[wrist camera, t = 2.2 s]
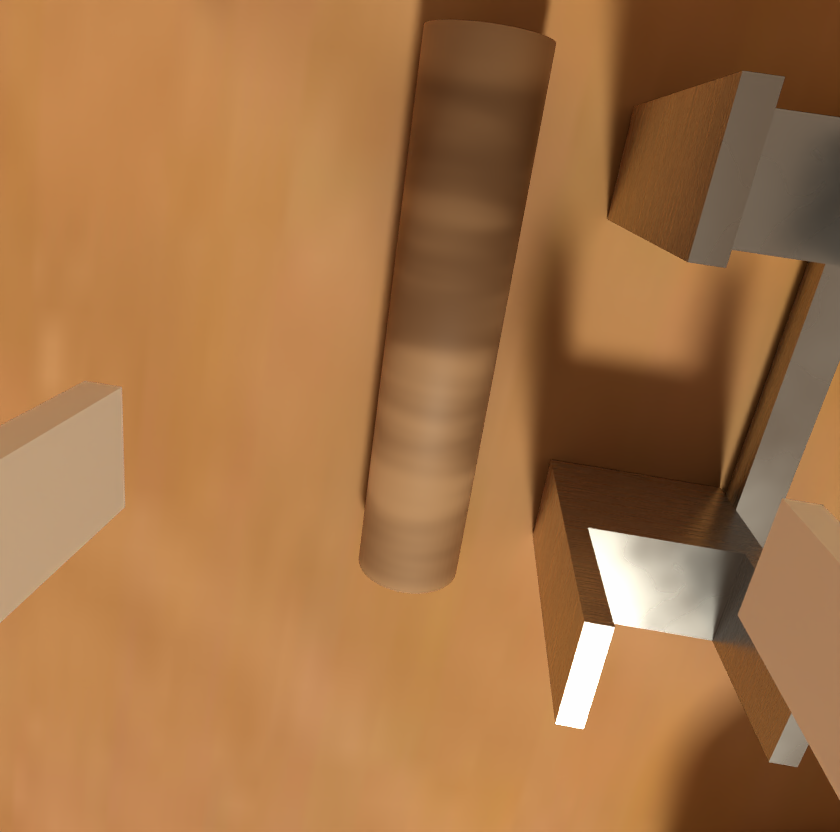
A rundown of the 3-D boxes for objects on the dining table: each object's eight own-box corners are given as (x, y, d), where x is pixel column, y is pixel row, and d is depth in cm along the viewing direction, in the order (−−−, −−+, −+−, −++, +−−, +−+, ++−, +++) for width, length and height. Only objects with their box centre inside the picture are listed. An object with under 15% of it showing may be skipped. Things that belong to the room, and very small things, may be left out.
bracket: (643, 65, 21) (763, -3, 12) (917, 105, 21) (1256, 65, 12) (527, 559, 28) (546, 754, 19) (730, 594, 28) (849, 809, 19)
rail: (444, 40, 22) (405, 14, 19) (563, 53, 21) (546, 28, 18) (379, 525, 29) (342, 574, 26) (466, 551, 28) (440, 605, 25)
